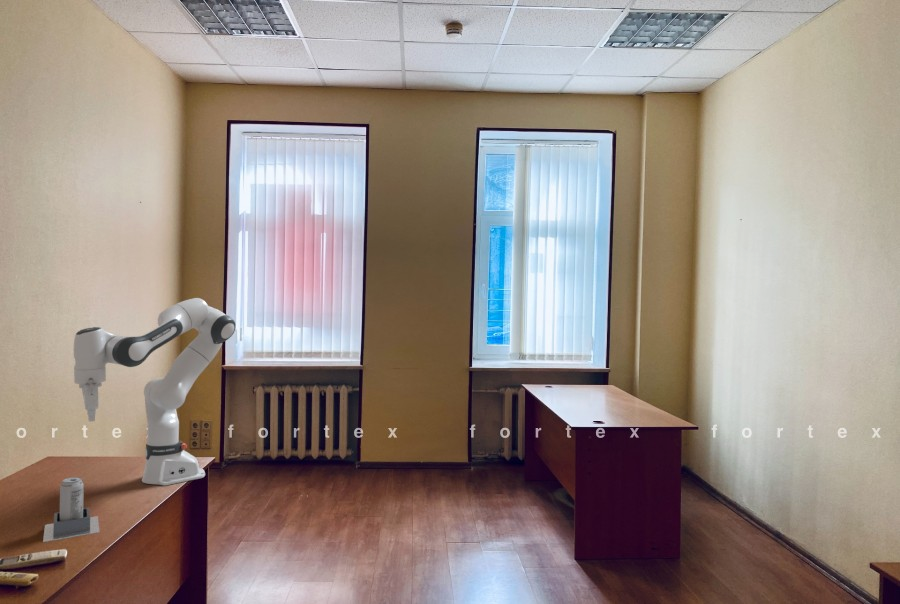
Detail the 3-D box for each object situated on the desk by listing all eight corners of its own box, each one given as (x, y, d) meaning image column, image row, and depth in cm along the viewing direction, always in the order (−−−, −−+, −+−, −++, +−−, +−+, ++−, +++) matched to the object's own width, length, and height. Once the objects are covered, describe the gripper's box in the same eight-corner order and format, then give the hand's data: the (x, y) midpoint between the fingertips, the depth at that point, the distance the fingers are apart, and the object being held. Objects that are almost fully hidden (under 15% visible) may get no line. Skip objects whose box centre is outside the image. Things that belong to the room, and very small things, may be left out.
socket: (97, 519, 185) (98, 503, 185) (99, 534, 173) (99, 518, 173) (44, 527, 177) (45, 511, 177) (43, 544, 165) (43, 527, 165)
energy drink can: (72, 523, 179) (72, 475, 178) (87, 525, 177) (88, 477, 177) (54, 530, 173) (55, 481, 173) (70, 533, 171) (71, 483, 171)
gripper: (103, 380, 182) (104, 423, 182) (99, 371, 199) (100, 411, 199) (79, 382, 178) (80, 425, 179) (78, 373, 195) (79, 413, 196)
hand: (91, 418), depth 189 cm, fingers open, 8 cm apart
